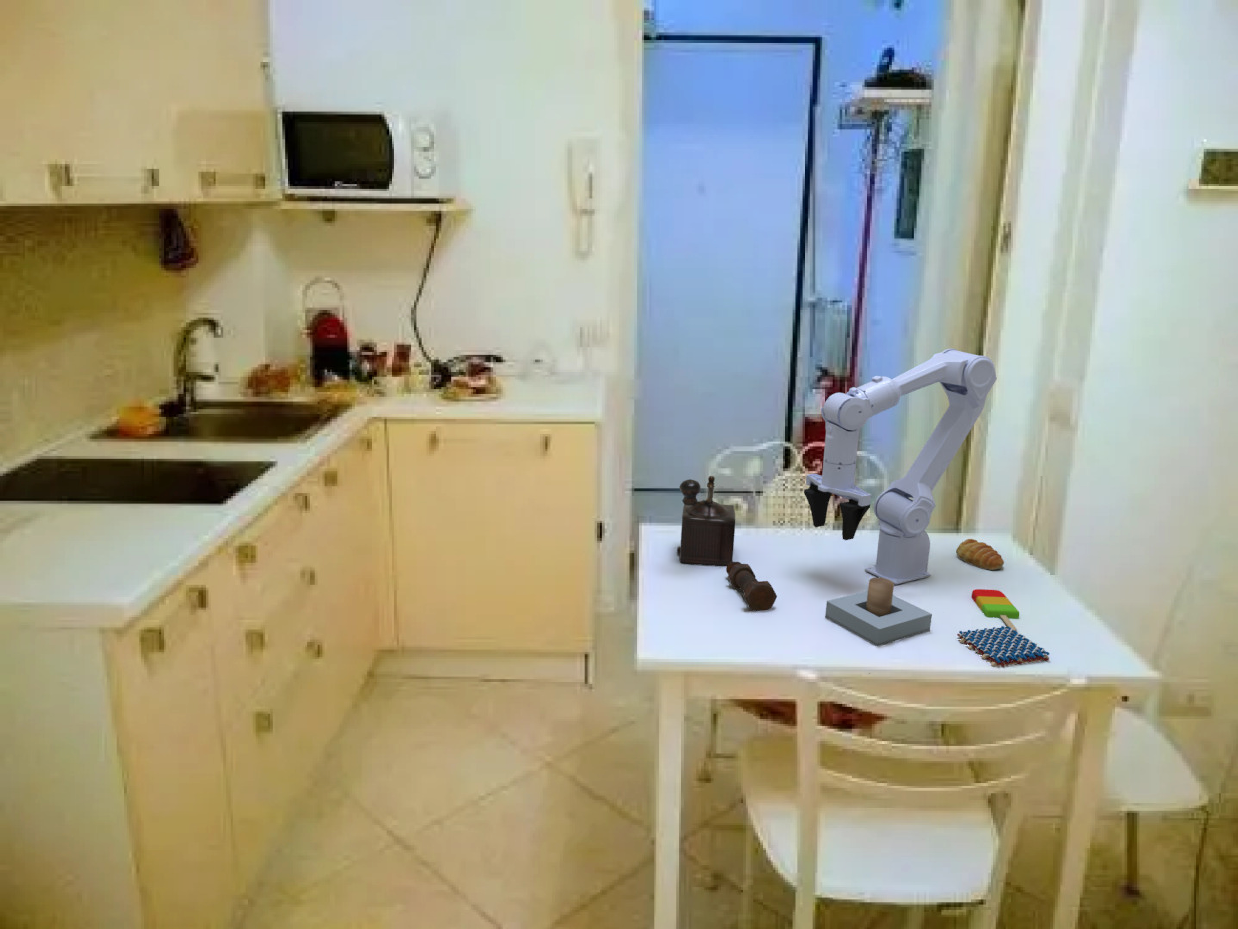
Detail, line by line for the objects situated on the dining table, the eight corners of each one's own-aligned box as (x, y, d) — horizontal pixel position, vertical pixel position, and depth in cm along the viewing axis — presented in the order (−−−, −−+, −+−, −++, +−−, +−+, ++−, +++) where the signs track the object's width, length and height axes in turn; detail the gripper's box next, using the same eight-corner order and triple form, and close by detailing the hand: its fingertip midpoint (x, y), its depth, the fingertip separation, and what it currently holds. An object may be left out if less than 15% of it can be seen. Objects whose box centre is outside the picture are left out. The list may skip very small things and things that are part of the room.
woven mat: (1006, 634, 151) (1008, 623, 150) (1051, 664, 141) (1053, 652, 140) (952, 640, 148) (953, 629, 148) (994, 671, 138) (996, 659, 138)
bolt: (736, 586, 171) (764, 618, 157) (714, 575, 169) (741, 606, 155) (752, 560, 170) (782, 590, 156) (730, 549, 169) (758, 577, 154)
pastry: (1012, 569, 178) (1014, 551, 176) (985, 574, 175) (988, 556, 174) (976, 553, 186) (978, 535, 185) (950, 557, 183) (953, 539, 182)
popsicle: (999, 598, 165) (1001, 589, 164) (1030, 636, 150) (1032, 625, 150) (968, 597, 165) (970, 588, 164) (996, 634, 150) (998, 624, 150)
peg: (875, 613, 155) (879, 575, 153) (894, 622, 152) (899, 584, 150) (859, 619, 153) (863, 580, 151) (878, 628, 149) (883, 589, 147)
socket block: (876, 603, 160) (877, 587, 159) (929, 630, 150) (932, 614, 149) (825, 617, 154) (826, 601, 153) (877, 646, 144) (879, 629, 143)
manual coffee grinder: (677, 544, 186) (681, 460, 181) (732, 547, 185) (737, 462, 180) (675, 573, 171) (678, 482, 166) (734, 577, 170) (739, 485, 165)
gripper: (795, 453, 166) (790, 523, 170) (852, 473, 154) (845, 548, 158) (824, 449, 170) (818, 518, 174) (882, 468, 158) (874, 542, 162)
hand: (833, 532), depth 166 cm, fingers open, 7 cm apart
